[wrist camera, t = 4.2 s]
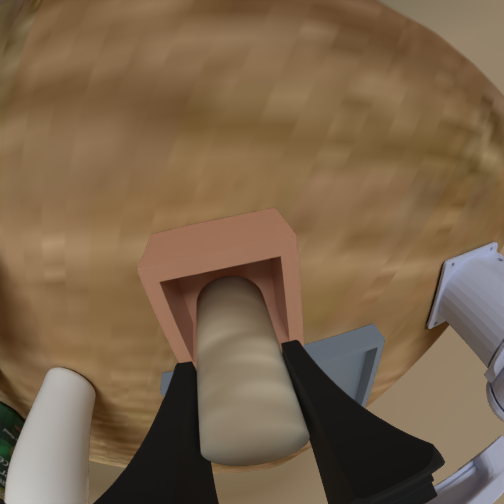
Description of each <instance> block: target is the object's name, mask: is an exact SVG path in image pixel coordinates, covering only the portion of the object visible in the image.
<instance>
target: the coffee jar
mask: <svg viewBox="0 0 504 504" xmlns="http://www.w3.org/2000/svg"><path fill="white" fill-rule="evenodd" d="M24 423H25V422H24V421H23V420H22V419H21V418H20V417H19V416H18V415H17V414H16V413H15V412H14V411H13V410H12V409H11V408H9V407H7V406H5V405H4V404H2V403H1V402H0V504H6V503H5V502H4V497H5V485H6V478H7V473H8V468H9V464H10V460H11V457H12V454H13V451H14V448H15V446H16V443H17V440H18V438H19V435H20V433H21V430H22V428H23V426H24Z"/></svg>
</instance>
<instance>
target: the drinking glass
mask: <svg viewBox="0 0 504 504" xmlns="http://www.w3.org/2000/svg"><path fill="white" fill-rule="evenodd" d="M95 399H96V393H95V390H94V388H93V386H92V385H91V384H90V382H89V381H88V380H86V379H85V378H84V377H83V376H81V375H80V374H78V373H76V372H74V371H72V370H69V369H66V368H61V367H55V368H52V369H50V370H49V371H48V372H47V373H46V376H45V378H44V381H43V383H42V386H41V388H40V390H39V392H38V394H37V396H36V399H35V401H34V403H33V405H32V407H31V410H30V412H29V414H28V416H27V419H26V421H25V423H24V426H23V428H22V430H21V433H20V435H19V438H18V440H17V443H16V446H15V448H14V451H13V454H12V457H11V460H10V464H9V468H8V473H7V478H6V485H5V497H4V502H5V503H6V504H88V503H89V502H88V501H89V448H90V434H91V423H92V414H93V408H94V404H95Z"/></svg>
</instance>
